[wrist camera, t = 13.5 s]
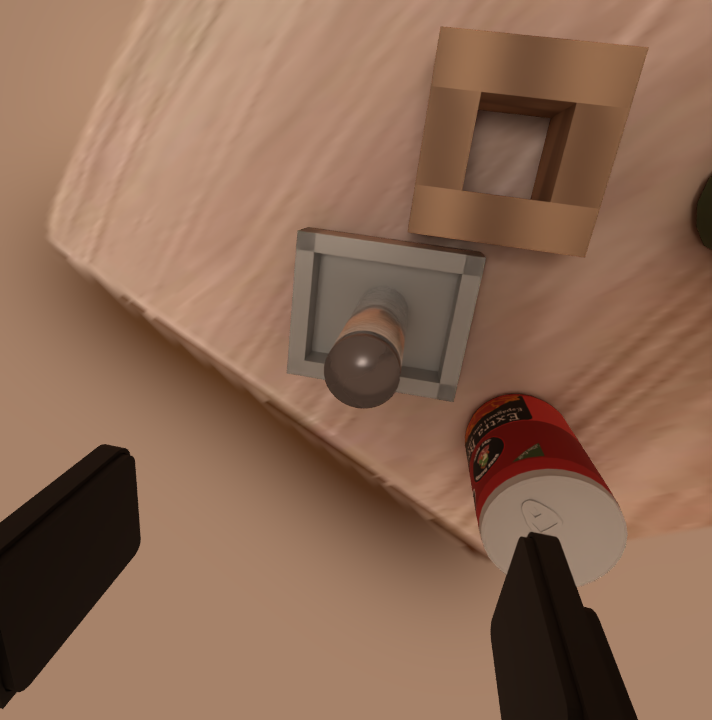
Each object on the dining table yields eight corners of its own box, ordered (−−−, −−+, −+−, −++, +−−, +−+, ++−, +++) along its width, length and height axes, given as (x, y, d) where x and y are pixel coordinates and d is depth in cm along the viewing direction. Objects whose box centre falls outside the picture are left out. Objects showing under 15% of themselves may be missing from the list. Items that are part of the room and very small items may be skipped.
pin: (412, 290, 31) (406, 343, 20) (403, 339, 33) (393, 414, 22) (361, 282, 32) (327, 331, 21) (355, 331, 33) (320, 401, 22)
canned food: (504, 371, 33) (540, 449, 23) (591, 428, 34) (664, 529, 24) (443, 444, 36) (450, 543, 26) (524, 495, 37) (563, 612, 26)
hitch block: (608, 73, 26) (648, 47, 22) (559, 247, 30) (584, 257, 25) (437, 55, 27) (440, 26, 22) (409, 226, 31) (407, 232, 26)
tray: (480, 251, 31) (486, 257, 28) (451, 385, 34) (453, 401, 31) (308, 227, 32) (297, 230, 29) (297, 358, 35) (286, 373, 32)
